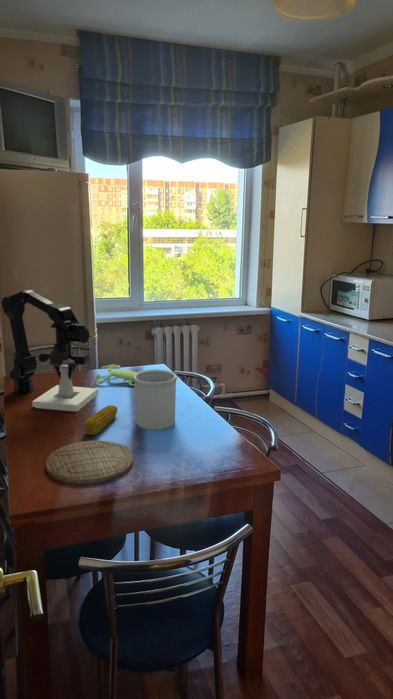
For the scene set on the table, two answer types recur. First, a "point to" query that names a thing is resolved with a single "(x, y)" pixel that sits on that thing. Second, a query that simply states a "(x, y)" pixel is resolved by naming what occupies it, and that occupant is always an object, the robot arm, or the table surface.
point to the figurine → (116, 374)
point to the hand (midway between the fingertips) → (65, 379)
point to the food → (100, 420)
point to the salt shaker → (65, 383)
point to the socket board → (57, 403)
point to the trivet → (89, 462)
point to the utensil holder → (155, 399)
